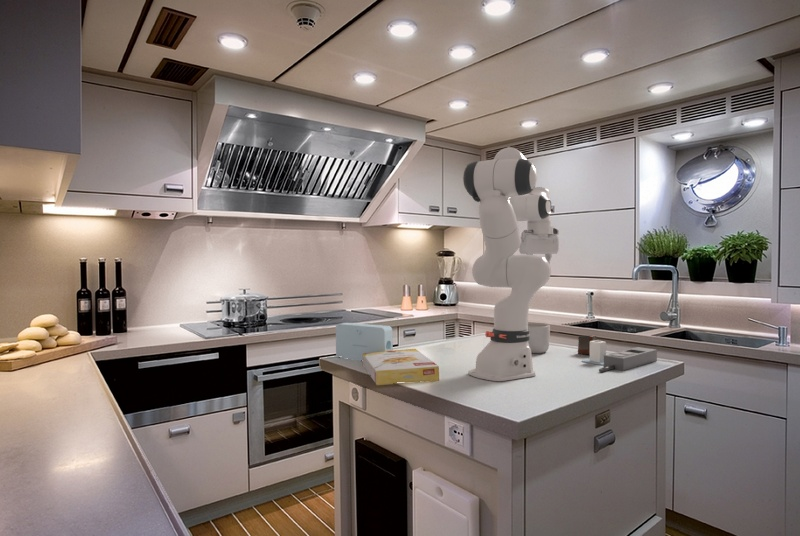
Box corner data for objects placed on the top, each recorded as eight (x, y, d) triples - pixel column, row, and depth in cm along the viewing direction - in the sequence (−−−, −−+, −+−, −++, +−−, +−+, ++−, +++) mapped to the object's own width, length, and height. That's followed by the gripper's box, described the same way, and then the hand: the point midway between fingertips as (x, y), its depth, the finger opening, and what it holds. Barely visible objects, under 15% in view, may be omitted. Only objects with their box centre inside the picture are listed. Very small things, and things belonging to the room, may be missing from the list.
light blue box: (334, 358, 187) (334, 324, 187) (344, 355, 192) (343, 322, 192) (383, 365, 174) (383, 328, 174) (392, 362, 179) (392, 326, 179)
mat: (602, 365, 169) (602, 364, 169) (581, 361, 175) (581, 360, 175) (614, 362, 174) (614, 361, 174) (593, 358, 180) (593, 357, 180)
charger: (599, 362, 172) (599, 342, 172) (589, 360, 175) (589, 340, 175) (605, 360, 174) (605, 340, 174) (595, 359, 177) (595, 339, 177)
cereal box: (415, 347, 178) (440, 363, 150) (416, 362, 178) (440, 381, 150) (361, 352, 173) (376, 369, 146) (361, 367, 173) (377, 387, 146)
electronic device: (601, 357, 183) (601, 337, 183) (577, 354, 190) (576, 335, 190) (606, 355, 186) (606, 336, 186) (582, 352, 193) (582, 333, 193)
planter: (554, 354, 189) (554, 326, 189) (522, 354, 189) (522, 327, 189) (544, 348, 202) (544, 322, 201) (514, 349, 201) (514, 322, 201)
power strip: (610, 374, 156) (610, 361, 156) (590, 370, 161) (590, 358, 161) (656, 360, 176) (656, 349, 176) (637, 357, 181) (637, 346, 181)
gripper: (528, 229, 179) (528, 266, 179) (561, 230, 191) (561, 265, 192) (515, 230, 184) (515, 266, 184) (548, 231, 196) (548, 265, 197)
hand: (539, 265), depth 188 cm, fingers open, 8 cm apart
